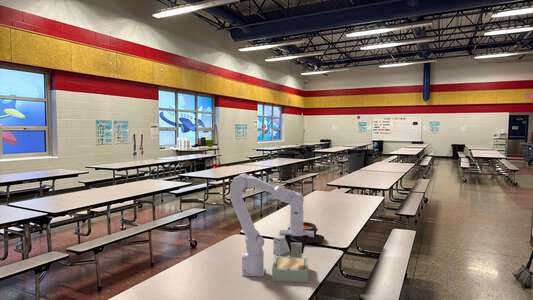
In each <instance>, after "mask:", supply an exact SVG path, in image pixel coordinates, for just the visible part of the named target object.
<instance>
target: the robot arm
mask: <svg viewBox="0 0 533 300" xmlns="http://www.w3.org/2000/svg"><path fill="white" fill-rule="evenodd" d="M253 188H257V189H259V190H261V191H263V192H266V193H270V194H272V196H273V198H274V199H276V200H279V201H280V202H283V203H285V204H289V206H290V210H289V226H290V230H288V229H282V230H281V229H280V230H279V235H280V236H282V235H284V236H285V240H286V242H287V244H288V247H289V254H291V242H292V240H291V236H302V254H304V252H305V251H304V250H305V246H306V244H307V243H308V242H307V241H308V236H311V237H314V231H306V230H303V222H304V201H305V199H304V196H303V194H302V193H300V192H299V191H295V190H291V189H288V188H286V186H285V185H283V184H282V185H277V186H274V185H273V184H270V183H268V182H266V181H264V180H261V178H260V179H259V178H258V177H255V176H254V175H251V174H248V173H240V174H239V175H237V176H235V177H234V178H233V179H232V181H231V183H230V190H229V200H230V202H231V204H232V207H233V209H234V211H235V214H236V216H237V218H238V221H239V224H240V226H241V229H242V231H243V233H244V242H245V249H246V250H245V252H242V255H241V257H242V258H241V276H242V277H259V278H260V277H262V278H263V277H264V276H265V272H266V267H265V266H264V265H265V264H264V263H265V262H264V261H265V259H264V257H265V256H264V249H263V246H264V245H265V239H264V237H263V236H261V234H260V232H259V231H258V230H257V229H256V227H255V225H254V223H253V220H252V217H251V215H250V213H249V211H248V207H247V205H246V203H245V201H244V198H243V195H244V193H245V191H246V189H247V190H248V189H253Z"/></svg>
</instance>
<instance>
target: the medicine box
mask: <svg viewBox="0 0 533 300" xmlns="http://www.w3.org/2000/svg"><path fill="white" fill-rule="evenodd" d="M272 243H273V248H272V249H273V251H272V252H273V253H272V254H273V255H275V256H284V255H286V254H287V253H290V251H289V247H288V244H287V242H286V240H285V236H284V235H282V236H280V234H279V235H276V236H275V237H273V242H272Z"/></svg>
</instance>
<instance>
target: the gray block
mask: <svg viewBox="0 0 533 300" xmlns="http://www.w3.org/2000/svg"><path fill="white" fill-rule="evenodd" d="M290 257H291V258H302V257H303V253H302V243H301V242H296V241H291V253H290Z"/></svg>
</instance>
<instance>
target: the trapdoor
mask: <svg viewBox="0 0 533 300" xmlns="http://www.w3.org/2000/svg"><path fill="white" fill-rule="evenodd" d="M287 267H288V268H289V269H305V264H304V259H299V258H278V259H277V265H276V268H284V269H287Z"/></svg>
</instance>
